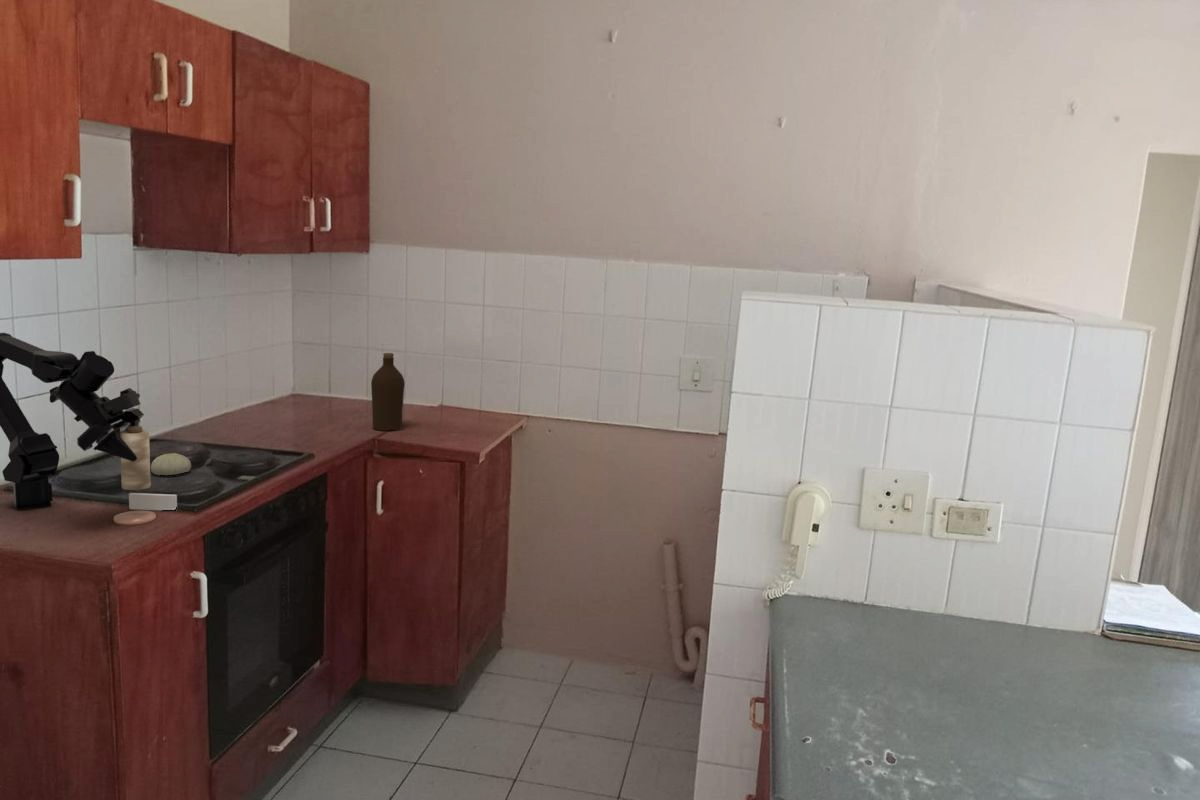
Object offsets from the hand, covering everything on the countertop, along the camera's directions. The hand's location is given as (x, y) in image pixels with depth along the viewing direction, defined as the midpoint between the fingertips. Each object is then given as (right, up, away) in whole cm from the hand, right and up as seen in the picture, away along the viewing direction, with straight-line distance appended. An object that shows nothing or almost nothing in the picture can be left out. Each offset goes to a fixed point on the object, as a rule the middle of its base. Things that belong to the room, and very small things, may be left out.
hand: (141, 456), depth 187 cm
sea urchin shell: (-12, -7, +37) cm, 40 cm away
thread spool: (-2, -6, +1) cm, 7 cm away
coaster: (-2, -13, +1) cm, 14 cm away
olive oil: (+28, +2, +103) cm, 107 cm away
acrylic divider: (-2, -12, +8) cm, 15 cm away
